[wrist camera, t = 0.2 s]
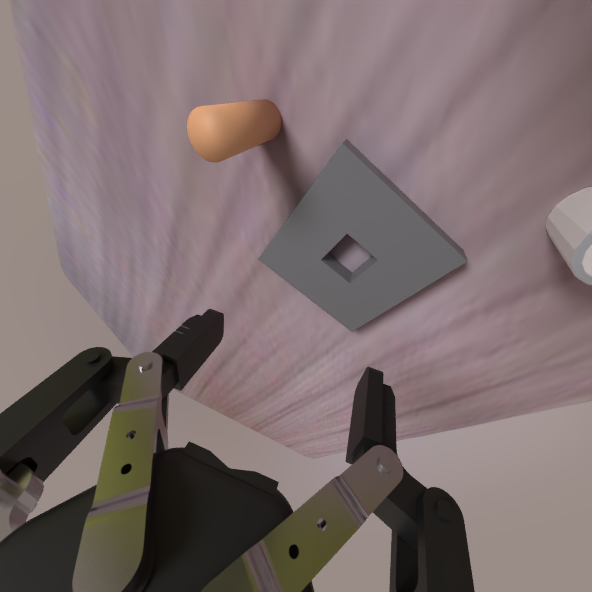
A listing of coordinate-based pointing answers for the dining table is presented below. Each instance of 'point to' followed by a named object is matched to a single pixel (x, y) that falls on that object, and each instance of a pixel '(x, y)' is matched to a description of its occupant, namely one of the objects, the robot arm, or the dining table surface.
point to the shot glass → (574, 232)
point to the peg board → (359, 242)
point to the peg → (232, 128)
